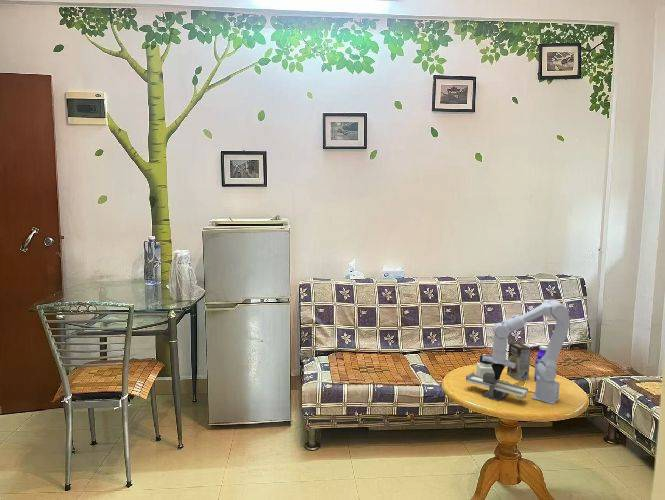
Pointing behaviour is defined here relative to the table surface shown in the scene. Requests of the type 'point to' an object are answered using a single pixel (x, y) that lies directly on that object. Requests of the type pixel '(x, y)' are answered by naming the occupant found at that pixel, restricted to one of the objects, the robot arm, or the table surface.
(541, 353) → the bottle
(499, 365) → the robot arm
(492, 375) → the block
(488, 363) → the medicine bottle
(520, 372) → the coffee box
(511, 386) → the beam
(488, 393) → the pivot stand
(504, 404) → the table surface
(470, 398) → the table surface
